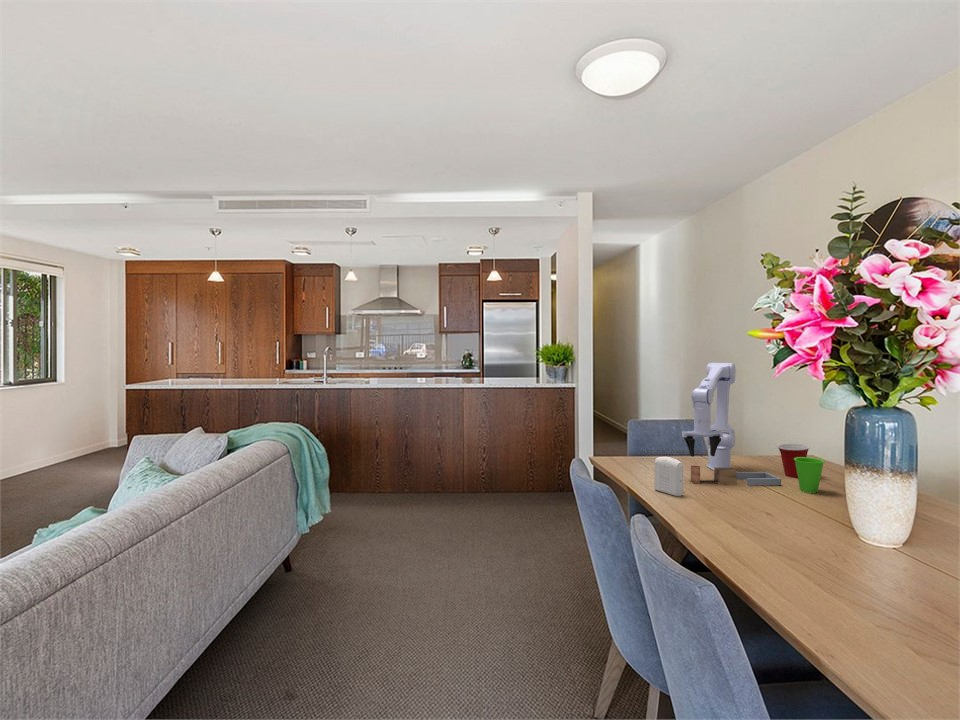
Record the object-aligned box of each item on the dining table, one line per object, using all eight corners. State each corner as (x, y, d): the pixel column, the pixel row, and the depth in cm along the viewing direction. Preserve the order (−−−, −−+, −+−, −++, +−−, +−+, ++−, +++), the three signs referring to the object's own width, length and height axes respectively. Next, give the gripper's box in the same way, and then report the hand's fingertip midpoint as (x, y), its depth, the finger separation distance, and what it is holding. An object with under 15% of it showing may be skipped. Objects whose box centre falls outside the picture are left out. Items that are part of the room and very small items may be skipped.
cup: (830, 494, 172) (830, 462, 172) (803, 494, 172) (803, 462, 172) (813, 487, 181) (813, 457, 181) (788, 487, 181) (788, 457, 181)
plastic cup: (771, 472, 203) (771, 442, 203) (799, 472, 203) (799, 442, 203) (786, 479, 192) (786, 448, 192) (815, 479, 192) (816, 448, 192)
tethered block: (688, 480, 192) (688, 464, 192) (730, 480, 192) (730, 464, 191) (693, 484, 187) (693, 468, 187) (736, 484, 187) (736, 468, 186)
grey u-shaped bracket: (734, 478, 194) (734, 472, 194) (766, 478, 194) (766, 472, 194) (748, 485, 184) (748, 479, 184) (781, 485, 184) (781, 478, 184)
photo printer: (685, 495, 173) (685, 459, 173) (677, 497, 171) (677, 460, 171) (660, 488, 182) (660, 454, 182) (652, 490, 180) (652, 455, 180)
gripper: (686, 421, 187) (687, 458, 187) (726, 421, 187) (726, 458, 187) (679, 419, 194) (679, 454, 194) (718, 418, 194) (718, 454, 194)
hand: (702, 455), depth 191 cm, fingers open, 7 cm apart
